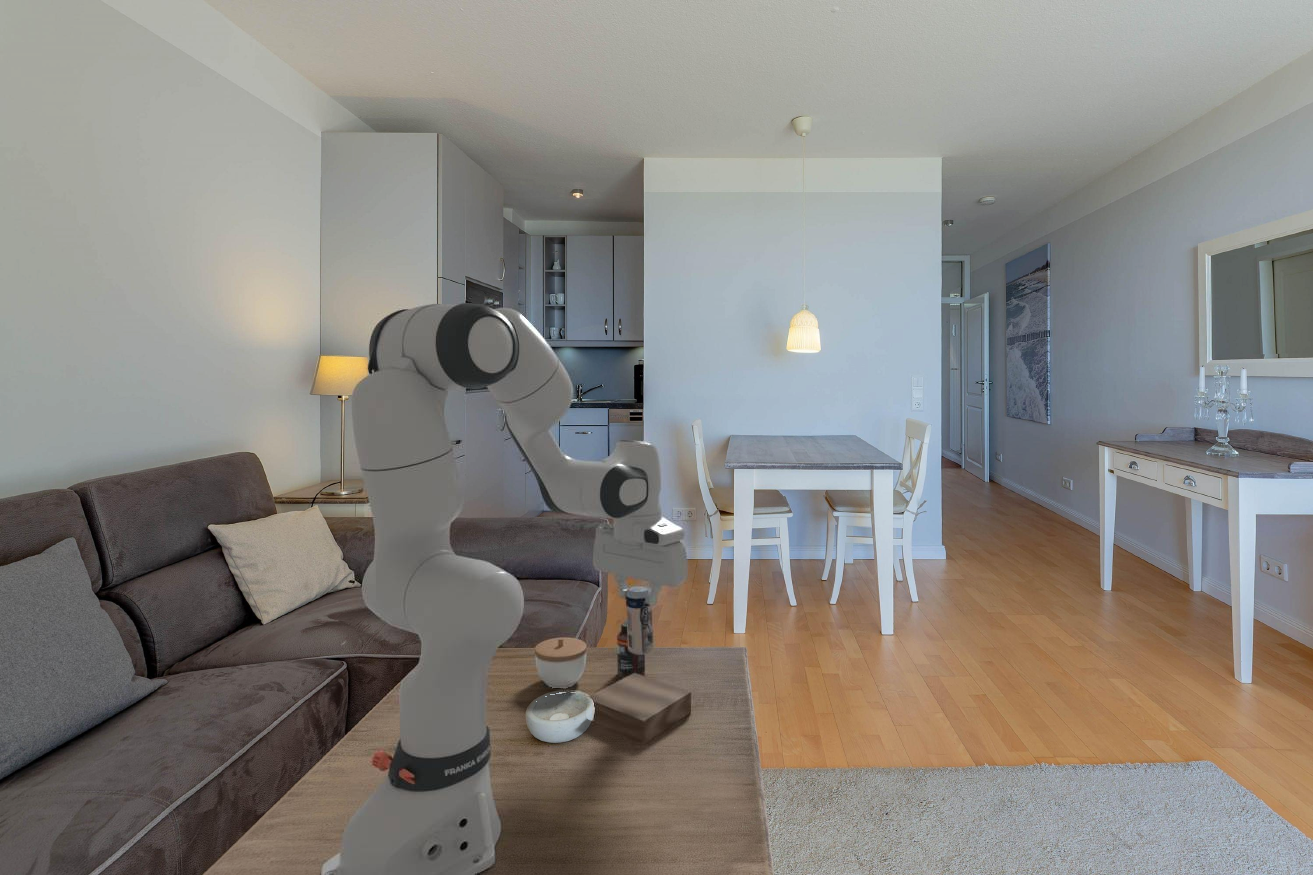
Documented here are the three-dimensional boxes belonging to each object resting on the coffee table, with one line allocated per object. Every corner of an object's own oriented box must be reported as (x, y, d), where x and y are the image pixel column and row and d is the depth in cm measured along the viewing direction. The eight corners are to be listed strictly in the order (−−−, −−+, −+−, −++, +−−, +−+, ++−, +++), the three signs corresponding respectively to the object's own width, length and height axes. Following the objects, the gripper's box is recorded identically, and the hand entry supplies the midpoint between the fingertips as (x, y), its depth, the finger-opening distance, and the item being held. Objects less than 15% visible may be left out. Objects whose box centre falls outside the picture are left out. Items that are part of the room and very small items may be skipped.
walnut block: (644, 743, 113) (644, 720, 112) (585, 718, 121) (585, 698, 121) (691, 712, 124) (691, 691, 123) (634, 691, 132) (634, 672, 132)
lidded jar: (529, 677, 139) (528, 634, 139) (577, 668, 144) (577, 626, 143) (542, 698, 130) (542, 652, 129) (594, 688, 134) (593, 643, 134)
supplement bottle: (646, 669, 143) (646, 618, 143) (643, 680, 137) (643, 628, 137) (619, 668, 144) (619, 617, 143) (615, 679, 138) (614, 627, 137)
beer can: (651, 656, 119) (648, 593, 118) (625, 655, 120) (622, 592, 119) (655, 645, 124) (653, 584, 123) (631, 644, 125) (628, 583, 124)
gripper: (584, 523, 124) (586, 595, 125) (670, 537, 111) (671, 616, 112) (607, 518, 129) (608, 587, 130) (692, 531, 116) (692, 607, 117)
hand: (638, 601), depth 121 cm, fingers closed on beer can, 5 cm apart
